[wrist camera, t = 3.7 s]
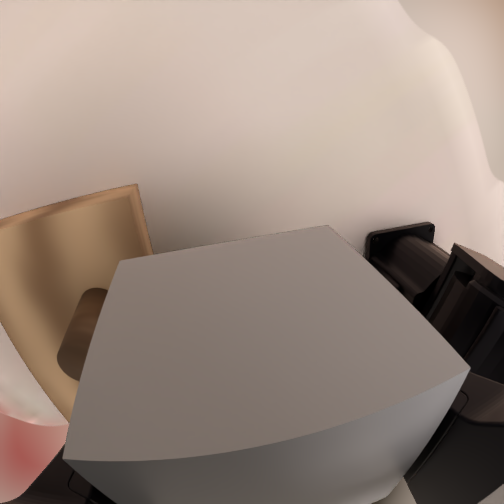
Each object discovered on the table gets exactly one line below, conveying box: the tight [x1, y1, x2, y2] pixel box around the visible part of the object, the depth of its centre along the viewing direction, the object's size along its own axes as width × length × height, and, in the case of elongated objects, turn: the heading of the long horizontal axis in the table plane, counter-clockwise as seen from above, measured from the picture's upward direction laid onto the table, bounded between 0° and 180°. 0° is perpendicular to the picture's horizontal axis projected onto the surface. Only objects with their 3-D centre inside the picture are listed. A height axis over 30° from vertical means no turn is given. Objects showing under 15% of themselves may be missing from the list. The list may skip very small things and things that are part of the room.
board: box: [0, 184, 153, 423], centre depth 19 cm, size 12×26×8 cm, turn 6°
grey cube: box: [63, 225, 470, 504], centre depth 7 cm, size 6×6×6 cm
